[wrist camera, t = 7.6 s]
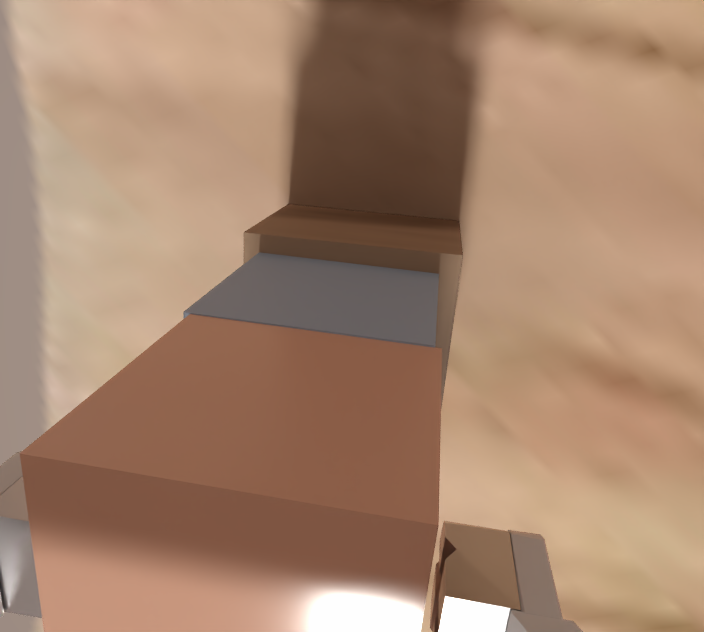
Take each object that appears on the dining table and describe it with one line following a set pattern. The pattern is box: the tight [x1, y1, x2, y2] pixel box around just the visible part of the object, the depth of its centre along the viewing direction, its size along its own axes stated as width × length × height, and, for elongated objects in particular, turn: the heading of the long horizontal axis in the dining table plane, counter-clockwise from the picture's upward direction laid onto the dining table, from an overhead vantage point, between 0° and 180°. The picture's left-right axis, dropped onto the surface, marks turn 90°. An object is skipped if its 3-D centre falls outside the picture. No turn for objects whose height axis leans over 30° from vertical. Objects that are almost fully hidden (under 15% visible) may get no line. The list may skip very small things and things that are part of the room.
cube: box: [20, 314, 442, 632], centre depth 10 cm, size 5×5×5 cm
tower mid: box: [184, 252, 439, 348], centre depth 15 cm, size 5×5×5 cm
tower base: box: [244, 204, 463, 407], centre depth 19 cm, size 6×6×5 cm
